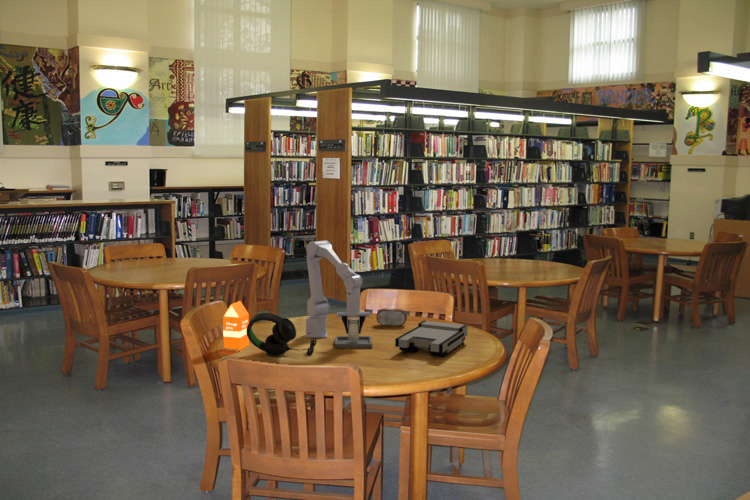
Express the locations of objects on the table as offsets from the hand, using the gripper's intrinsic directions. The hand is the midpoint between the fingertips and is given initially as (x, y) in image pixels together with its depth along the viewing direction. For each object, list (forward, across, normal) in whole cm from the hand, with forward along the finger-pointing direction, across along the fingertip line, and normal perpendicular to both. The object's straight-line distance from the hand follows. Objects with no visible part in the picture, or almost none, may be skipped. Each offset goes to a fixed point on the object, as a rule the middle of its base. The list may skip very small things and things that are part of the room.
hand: (353, 333), depth 292 cm
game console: (+6, +34, -8) cm, 35 cm away
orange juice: (+5, -50, -6) cm, 51 cm away
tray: (+5, 0, 0) cm, 5 cm away
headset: (+5, -30, -16) cm, 34 cm away
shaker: (+3, 0, 0) cm, 3 cm away
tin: (+5, +19, +35) cm, 40 cm away
